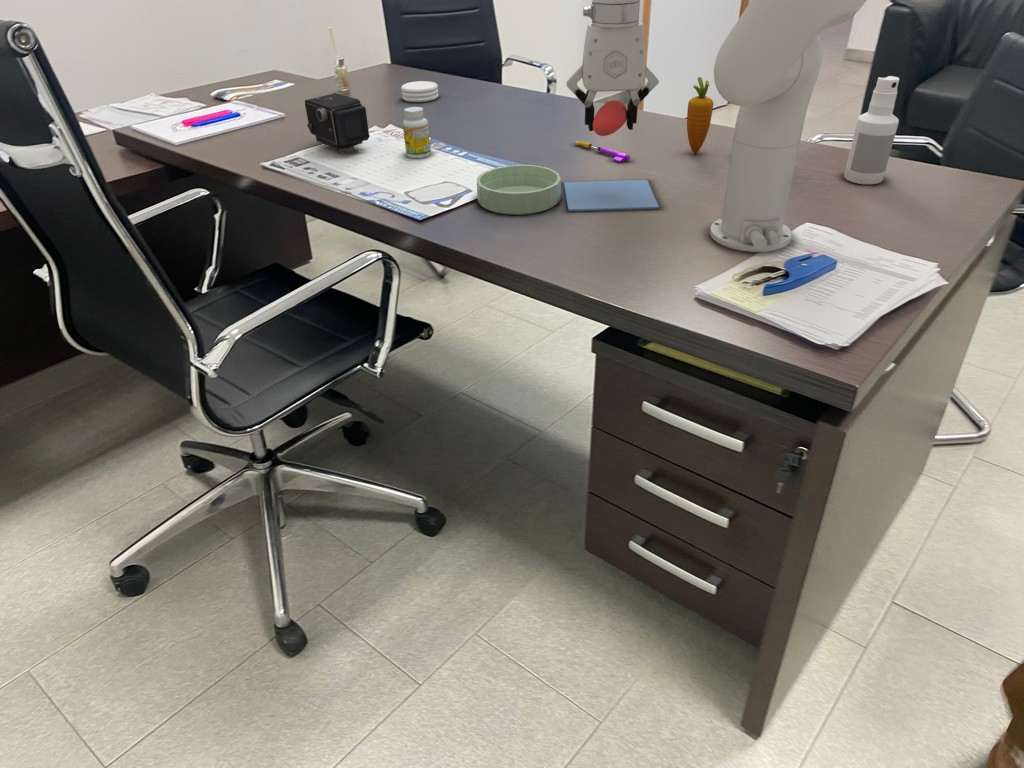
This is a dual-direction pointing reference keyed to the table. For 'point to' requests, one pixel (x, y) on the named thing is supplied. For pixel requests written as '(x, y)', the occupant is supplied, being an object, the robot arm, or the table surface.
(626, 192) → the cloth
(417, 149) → the supplement bottle
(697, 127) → the carrot
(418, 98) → the coaster
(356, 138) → the camera
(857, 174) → the spray bottle
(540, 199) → the bowl
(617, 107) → the red oval piece
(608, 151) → the purple and gold rod
